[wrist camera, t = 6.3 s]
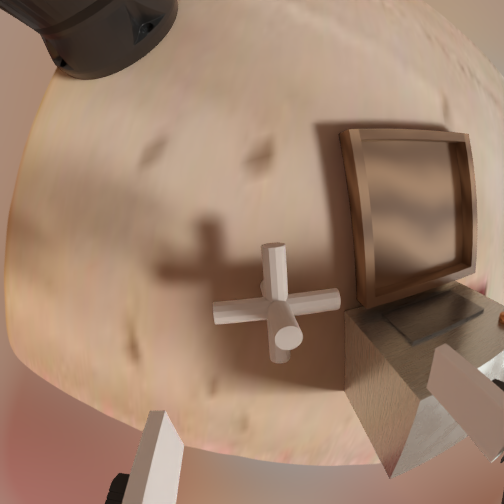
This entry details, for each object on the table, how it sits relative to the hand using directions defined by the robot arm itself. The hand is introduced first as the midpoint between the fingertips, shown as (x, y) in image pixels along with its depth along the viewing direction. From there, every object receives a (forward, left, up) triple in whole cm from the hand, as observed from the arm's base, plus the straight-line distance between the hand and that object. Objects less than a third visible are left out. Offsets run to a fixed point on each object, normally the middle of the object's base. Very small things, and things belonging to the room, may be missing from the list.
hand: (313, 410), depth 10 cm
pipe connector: (0, 0, -17) cm, 17 cm away
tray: (-5, +18, -16) cm, 24 cm away
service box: (+10, +16, -16) cm, 25 cm away
